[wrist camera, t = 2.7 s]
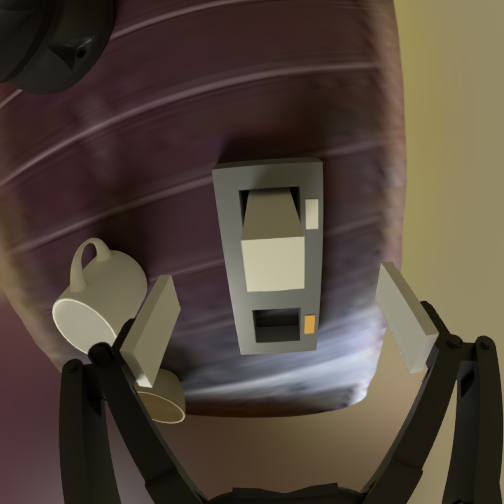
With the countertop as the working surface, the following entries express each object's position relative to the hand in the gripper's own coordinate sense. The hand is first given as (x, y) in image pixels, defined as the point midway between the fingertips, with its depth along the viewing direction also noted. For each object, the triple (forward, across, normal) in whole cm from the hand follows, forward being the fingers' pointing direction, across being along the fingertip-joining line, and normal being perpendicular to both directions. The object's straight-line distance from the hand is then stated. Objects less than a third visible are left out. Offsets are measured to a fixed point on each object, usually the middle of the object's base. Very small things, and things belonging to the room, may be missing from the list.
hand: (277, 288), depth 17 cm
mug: (+14, -20, -6) cm, 25 cm away
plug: (+14, 0, +1) cm, 14 cm away
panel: (+14, 0, -6) cm, 16 cm away
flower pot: (+15, -20, -28) cm, 38 cm away
